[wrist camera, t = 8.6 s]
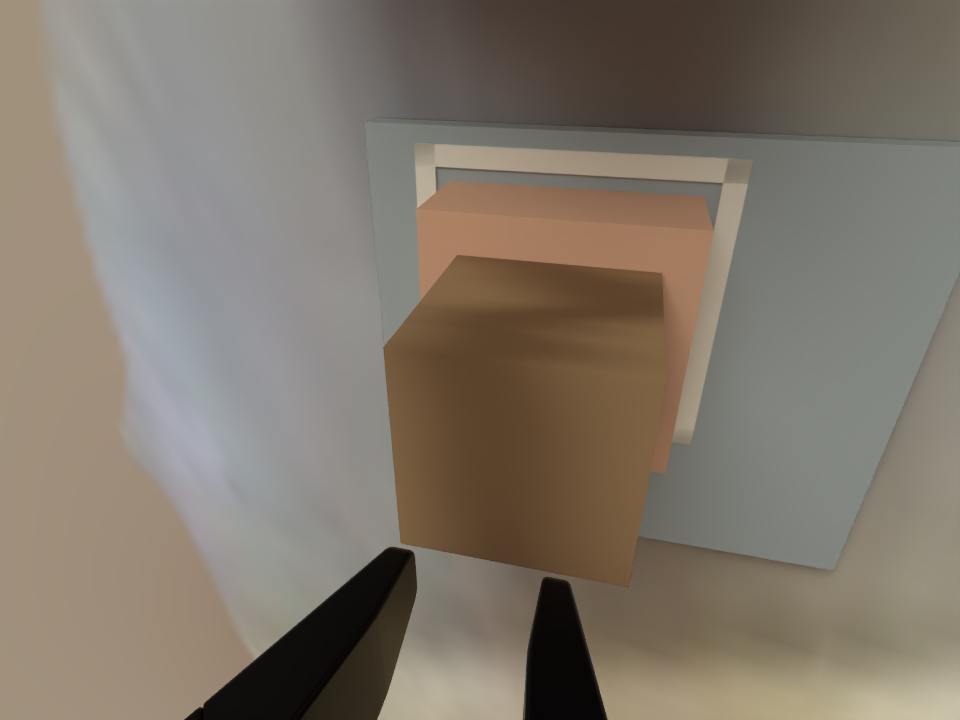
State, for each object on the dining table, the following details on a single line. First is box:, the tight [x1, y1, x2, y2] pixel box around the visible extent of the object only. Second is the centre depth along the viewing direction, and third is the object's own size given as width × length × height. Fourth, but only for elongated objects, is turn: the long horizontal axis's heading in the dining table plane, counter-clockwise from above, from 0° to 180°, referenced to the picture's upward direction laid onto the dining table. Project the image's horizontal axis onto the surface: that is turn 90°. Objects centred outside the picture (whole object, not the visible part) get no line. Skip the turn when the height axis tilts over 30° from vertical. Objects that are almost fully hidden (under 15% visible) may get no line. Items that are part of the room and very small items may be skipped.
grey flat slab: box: [364, 118, 960, 571], centre depth 19 cm, size 16×14×1 cm
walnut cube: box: [383, 255, 667, 587], centre depth 14 cm, size 5×5×5 cm
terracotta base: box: [416, 181, 714, 473], centre depth 17 cm, size 7×7×3 cm
